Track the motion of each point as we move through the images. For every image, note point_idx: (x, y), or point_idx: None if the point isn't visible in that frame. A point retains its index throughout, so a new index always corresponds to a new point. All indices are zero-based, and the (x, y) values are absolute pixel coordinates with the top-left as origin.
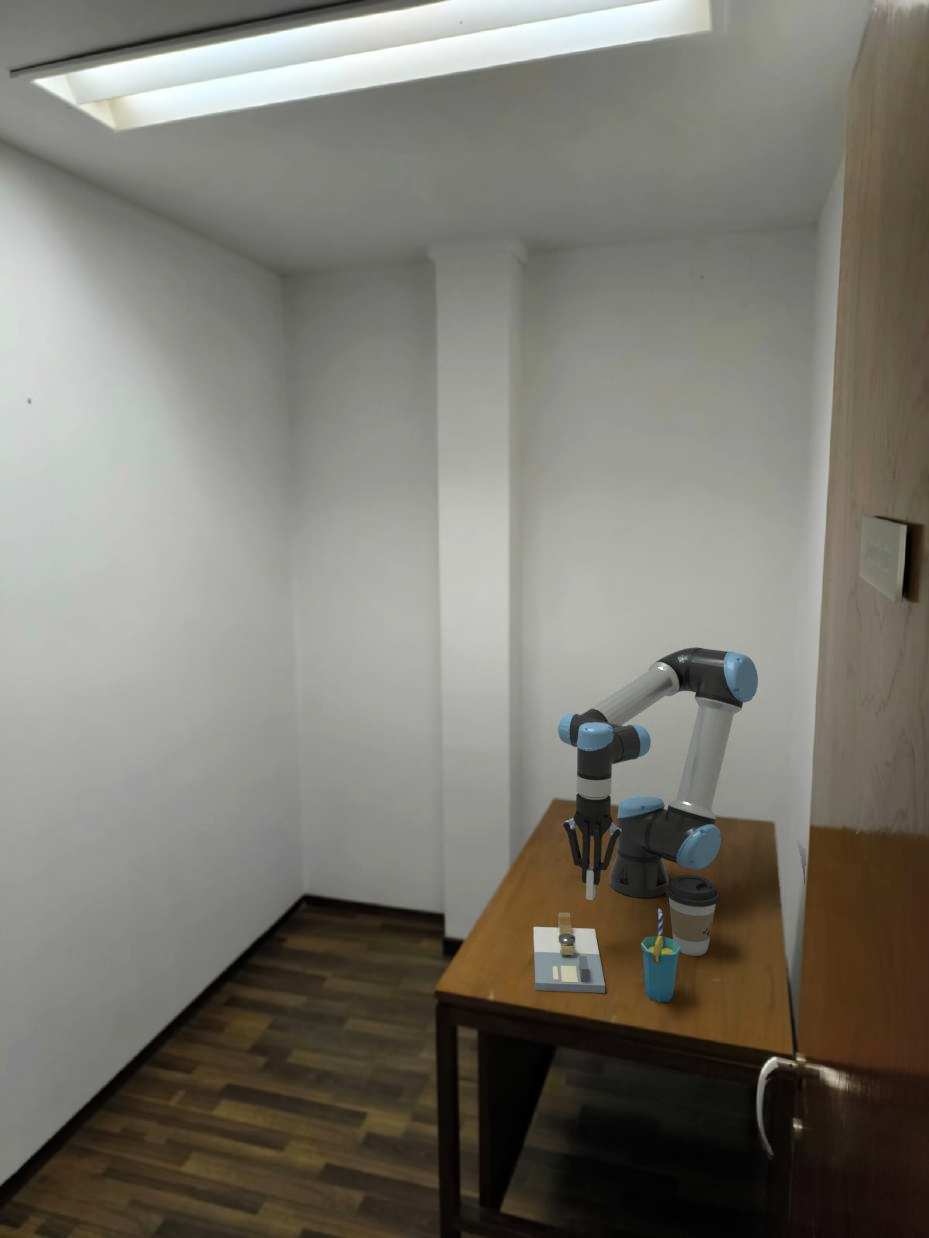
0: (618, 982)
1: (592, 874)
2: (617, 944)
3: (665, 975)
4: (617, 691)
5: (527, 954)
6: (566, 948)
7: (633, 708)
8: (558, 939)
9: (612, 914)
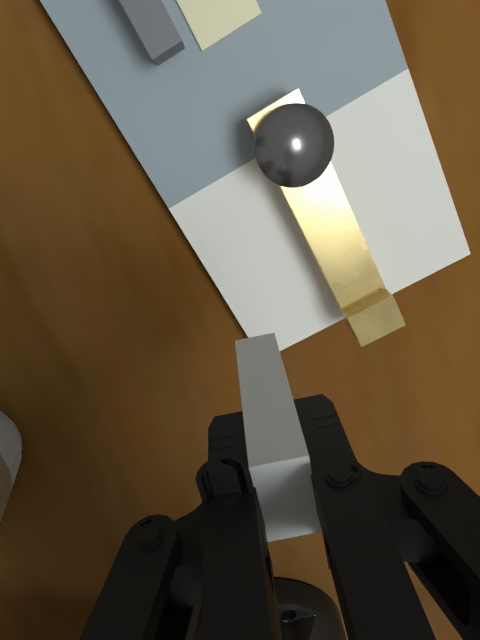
0: (34, 97)
1: (253, 447)
2: (168, 338)
3: None
4: None
5: (431, 87)
6: (274, 101)
7: None
8: None
9: None
